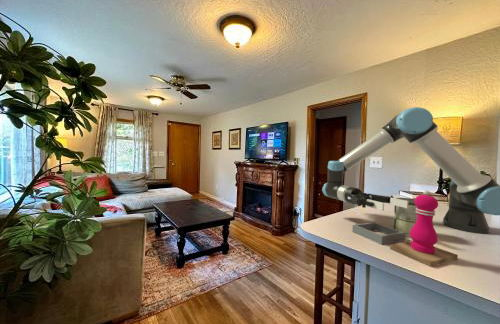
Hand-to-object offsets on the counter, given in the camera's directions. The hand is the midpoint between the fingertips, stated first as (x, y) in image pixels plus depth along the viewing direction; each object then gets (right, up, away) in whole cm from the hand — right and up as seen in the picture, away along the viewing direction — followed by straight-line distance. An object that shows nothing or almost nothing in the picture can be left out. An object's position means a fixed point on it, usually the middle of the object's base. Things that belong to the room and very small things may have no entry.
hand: (396, 205), depth 77 cm
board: (+3, -14, -8) cm, 17 cm away
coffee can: (+13, -14, +12) cm, 23 cm away
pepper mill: (+3, -13, -8) cm, 16 cm away
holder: (-3, -14, +7) cm, 15 cm away
